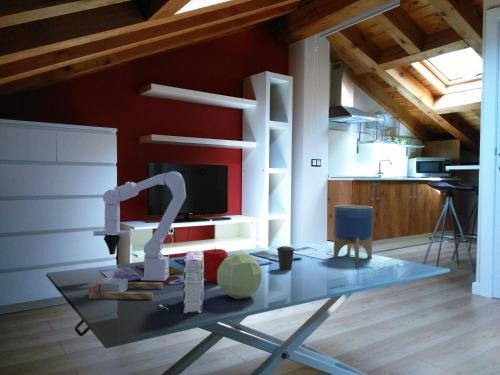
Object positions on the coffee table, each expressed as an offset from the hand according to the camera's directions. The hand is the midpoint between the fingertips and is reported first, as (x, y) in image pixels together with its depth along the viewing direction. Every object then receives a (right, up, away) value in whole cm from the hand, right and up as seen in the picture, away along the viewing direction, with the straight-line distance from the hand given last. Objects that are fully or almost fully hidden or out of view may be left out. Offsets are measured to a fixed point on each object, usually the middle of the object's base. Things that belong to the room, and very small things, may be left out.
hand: (112, 254), depth 159 cm
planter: (+108, -10, +47) cm, 118 cm away
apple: (+41, -11, -2) cm, 42 cm away
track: (+12, -11, -18) cm, 24 cm away
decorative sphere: (+51, -11, -21) cm, 57 cm away
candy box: (+37, -12, -31) cm, 49 cm away
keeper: (+6, -11, -16) cm, 21 cm away
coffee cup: (+71, -10, +20) cm, 74 cm away
